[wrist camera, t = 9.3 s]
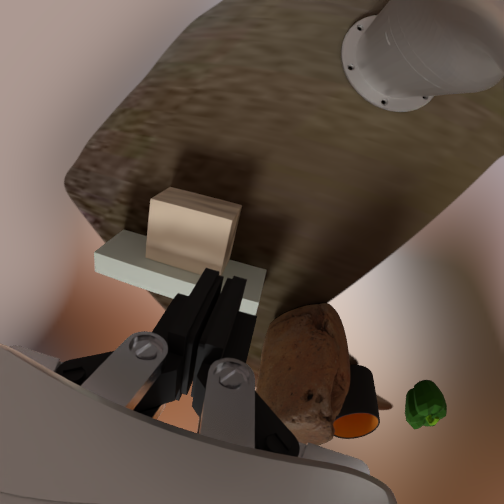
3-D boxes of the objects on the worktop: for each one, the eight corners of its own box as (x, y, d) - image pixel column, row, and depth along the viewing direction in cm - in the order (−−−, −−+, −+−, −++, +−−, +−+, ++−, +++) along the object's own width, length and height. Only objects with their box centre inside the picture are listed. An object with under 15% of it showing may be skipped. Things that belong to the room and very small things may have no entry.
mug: (301, 386, 51) (298, 432, 42) (358, 357, 46) (365, 405, 37) (326, 406, 53) (326, 449, 44) (380, 380, 48) (388, 426, 39)
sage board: (123, 229, 43) (94, 252, 36) (266, 269, 42) (258, 302, 35) (123, 247, 44) (95, 271, 37) (261, 287, 43) (253, 322, 36)
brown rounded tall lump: (286, 350, 48) (273, 457, 30) (263, 317, 46) (238, 429, 28) (348, 326, 44) (362, 438, 26) (328, 289, 42) (338, 405, 24)
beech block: (170, 186, 39) (150, 198, 34) (242, 204, 39) (232, 220, 33) (163, 239, 43) (145, 257, 37) (229, 258, 42) (219, 280, 37)
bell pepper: (420, 404, 50) (429, 442, 41) (393, 396, 50) (401, 437, 41) (447, 379, 46) (461, 418, 38) (421, 370, 46) (434, 411, 37)
